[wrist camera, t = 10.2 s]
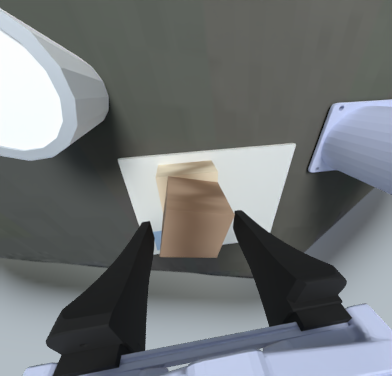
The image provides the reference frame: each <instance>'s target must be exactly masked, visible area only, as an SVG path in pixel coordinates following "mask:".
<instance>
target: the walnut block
mask: <svg viewBox="0 0 392 376" xmlns="http://www.w3.org/2000/svg"><path fill="white" fill-rule="evenodd" d="M234 216H235V214H234V212H233V210H232V209H231V207H230V205H229V203H228V201H227V199H226V197H225V195H224V193H223V191H222V189H221V187H220V185H219V184H218V182H211V181H204V180H196V179H188V178H180V177H172V176H168V180H167V188H166V195H165V203H164V211H163V220H162V232H161V245H160V257H195V258H217V256H218V253H219V251H220V249H221V246H222V244H223V242H224V239H225V237H226V235H227V232H228V230H229V228H230V225H231V223H232V221H233V218H234Z"/></svg>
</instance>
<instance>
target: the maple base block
mask: <svg viewBox="0 0 392 376" xmlns="http://www.w3.org/2000/svg"><path fill="white" fill-rule="evenodd" d="M168 176H172V177H180V178H188V179H196V180H204V181H211V182H218V170H217V169H216V167H215V165H214V164H213V162H212V160H208V161H198V162H187V163H176V164H166V165H158V168H157V172H156V177H155V178H156V183H157V187H158V192H159V197H160V202H161V207H162V212H163V211H164V203H165V195H166V188H167V180H168Z"/></svg>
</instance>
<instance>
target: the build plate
mask: <svg viewBox="0 0 392 376" xmlns="http://www.w3.org/2000/svg"><path fill="white" fill-rule="evenodd" d="M295 146H296V144H294V143H288V144H276V145H265V146H254V147H242V148H231V149H219V150H208V151H196V152H185V153H173V154H162V155H150V156H139V157H128V158H119V159H118V163H119V166H120V169H121V172H122V175H123V178H124V181H125V184H126V187H127V190H128V193H129V196H130V199H131V202H132V205H133V208H134V211H135V214H136V217H137V220H138V223H139V226H140V225H141V223H142V222H147V221H150V223H151V226H152V230H153V234H154V237H155V242H154V254H160V245H161V232H162V220H163V212H162V207H161V202H160V197H159V192H158V187H157V183H156V178H155V177H156V172H157V168H158V165H166V164H176V163H187V162H198V161H208V160H212V162H213V164H214V165H215V167H216V169H217V170H218V184H219V185H220V187H221V189H222V191H223V193H224V195H225V197H226V199H227V201H228V203H229V205H230V207H231V209H232V210H233V212H234V213H235V211H237V210H242V211H243V212H245V213H246V214H247V215H248V216H249V217H250V218H251V219H253V220H254V221H255V222H256V223H257V224H259V225H260V226H261V227H262V228H264V229H265V230H266V231H268V232H269V233H270V231H271V228H272V224H273V221H274V217H275V214H276V211H277V207H278V204H279V200H280V197H281V194H282V190H283V187H284V183H285V180H286V177H287V173H288V170H289V166H290V163H291V160H292V156H293V153H294V149H295ZM233 222H234V218H233V221H232V223H231V225H230V228H229V230H228V232H227V235H226V237H225V239H224V242H223V244H222V245H224V244H231V243H238V241H237V239H236V236H235V233H234V230H233ZM154 254H153V255H154Z"/></svg>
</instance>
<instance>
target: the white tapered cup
mask: <svg viewBox="0 0 392 376" xmlns="http://www.w3.org/2000/svg"><path fill="white" fill-rule="evenodd" d="M108 110H109V96H108V93H107V90H106V88H105V85H104V82H103V81H102V79H101V78H100V77H99V75H98V74H97V73H96V71H95V70H94V68H93V67H91V66H90V65H89V64H88V63H86V62H85V61H84V60H82V59H81V58H80V57H78V56H77V55H75V54H73V53H72V52H70V51H69V50H67V49H65V48H64V47H62V46H61V45H59V44H57V43H56V42H54V41H52V40H51V39H49V38H48V37H46V36H44V35H43V34H41V33H39V32H38V31H36V30H35V29H33V28H31V27H30V26H28V25H27V24H25V23H23V22H22V21H20V20H18V19H17V18H15V17H14V16H12V15H10V14H9V13H7V12H6V11H4V10H2V9H1V8H0V155H1V156H6V157H11V158H17V159H23V160H29V161H31V160H37V159H44V158H50V157H54V156H55V155H57V154H58V153H59V152H61V151H62V150H64V149H65V148H67V147H68V146H69V145H71V144H72V143H73V142H75V141H76V140H78V139H79V138H80V137H82V136H83V135H84V134H86V133H87V132H89V131H90V130H91V129H93V128H94V127H95V126H97V125H98V124H99V123H101V122H102V121H104V119H105V117H106V115H107V113H108Z"/></svg>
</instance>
